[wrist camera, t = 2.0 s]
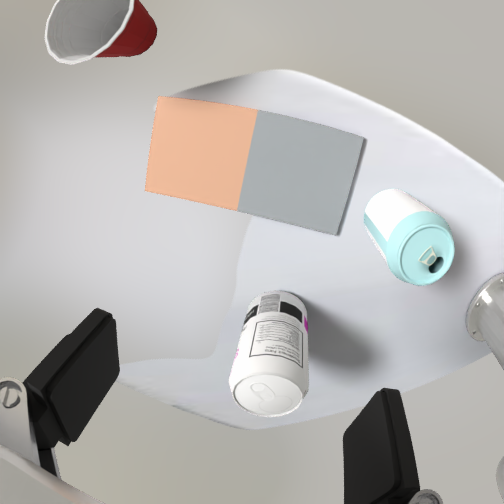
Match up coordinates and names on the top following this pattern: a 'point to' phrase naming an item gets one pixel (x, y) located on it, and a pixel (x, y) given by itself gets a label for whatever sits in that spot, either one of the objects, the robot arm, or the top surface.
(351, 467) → the robot arm
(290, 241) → the top surface
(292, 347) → the supplement can
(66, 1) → the plastic cup
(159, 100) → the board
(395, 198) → the can
